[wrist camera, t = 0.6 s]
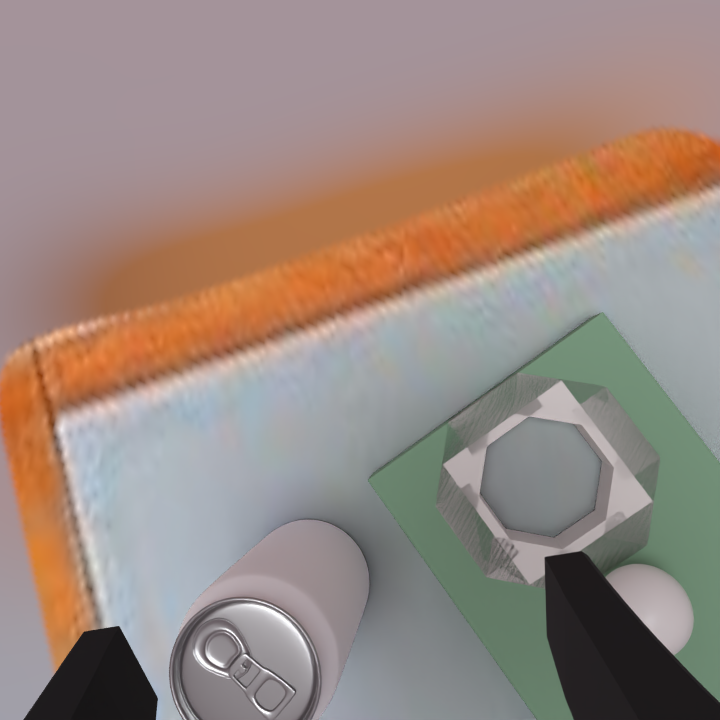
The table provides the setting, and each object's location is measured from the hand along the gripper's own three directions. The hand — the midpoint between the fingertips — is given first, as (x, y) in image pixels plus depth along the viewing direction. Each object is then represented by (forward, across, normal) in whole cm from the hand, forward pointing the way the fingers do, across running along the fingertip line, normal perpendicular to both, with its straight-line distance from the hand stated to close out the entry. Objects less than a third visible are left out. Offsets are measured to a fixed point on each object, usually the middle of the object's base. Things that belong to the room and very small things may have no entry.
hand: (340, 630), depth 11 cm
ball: (+11, -11, +16) cm, 23 cm away
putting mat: (+16, -10, +17) cm, 26 cm away
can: (+18, +4, +18) cm, 26 cm away
